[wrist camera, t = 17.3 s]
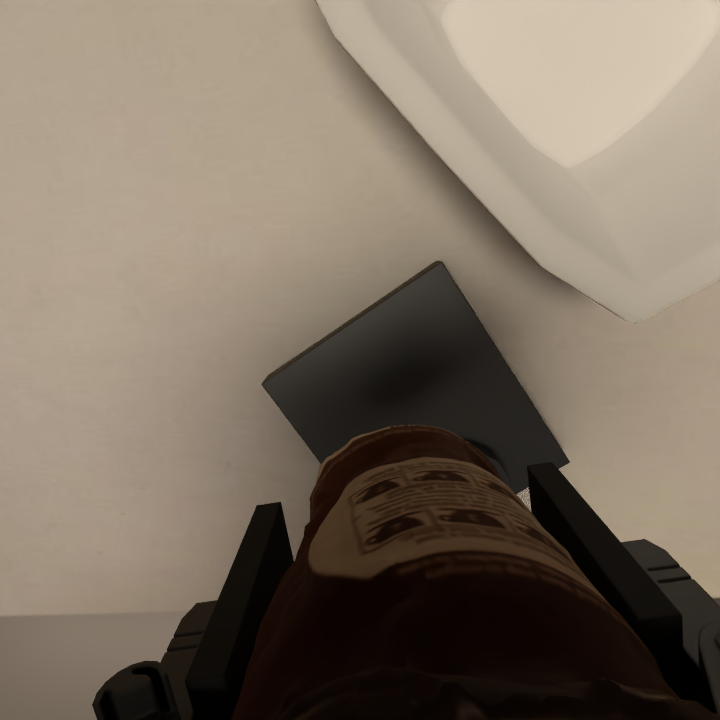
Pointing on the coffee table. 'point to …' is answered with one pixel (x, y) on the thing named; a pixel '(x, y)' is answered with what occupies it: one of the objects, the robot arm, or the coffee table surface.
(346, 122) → the coffee table surface
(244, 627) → the robot arm
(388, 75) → the bowl
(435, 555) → the coffee cup
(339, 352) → the scale
